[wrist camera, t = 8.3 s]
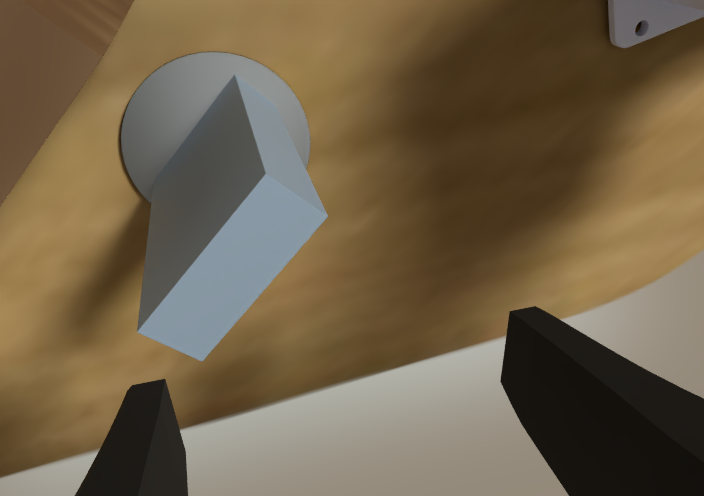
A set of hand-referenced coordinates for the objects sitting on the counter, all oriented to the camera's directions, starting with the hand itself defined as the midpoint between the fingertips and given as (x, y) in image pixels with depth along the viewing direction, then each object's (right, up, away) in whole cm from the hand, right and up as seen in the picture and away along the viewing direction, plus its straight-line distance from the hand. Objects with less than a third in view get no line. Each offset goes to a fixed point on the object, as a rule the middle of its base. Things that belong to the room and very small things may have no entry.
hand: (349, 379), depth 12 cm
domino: (-8, +9, +4) cm, 13 cm away
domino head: (-4, +6, +7) cm, 10 cm away
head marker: (-4, +6, +7) cm, 10 cm away
